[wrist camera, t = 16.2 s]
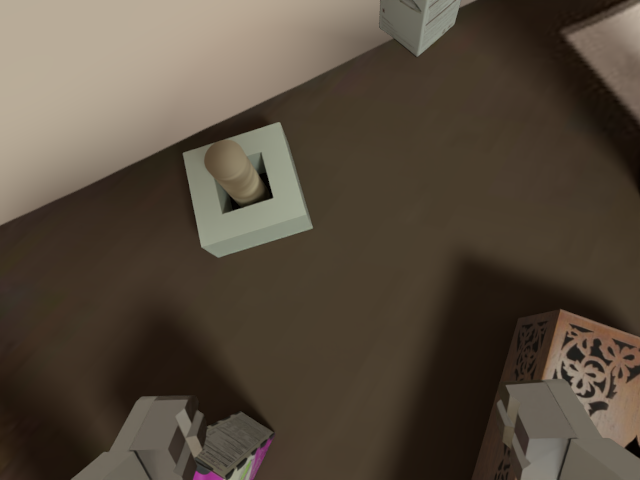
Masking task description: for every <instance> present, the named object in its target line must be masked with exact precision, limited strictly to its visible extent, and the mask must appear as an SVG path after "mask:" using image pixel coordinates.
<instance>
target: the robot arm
mask: <svg viewBox="0 0 640 480" xmlns="http://www.w3.org/2000/svg"><path fill="white" fill-rule="evenodd" d="M498 393H499V395H500V398H501V400H499V401H498V402H497V403H496V411H495V413H496V422H497V427H498V430H499V434H500V436H501V439H502V442H503V443H505V444H506V445H507V446H508V447H509V448H510V449H511V450H510V456H509V460H510V463H511V466H512V468H513V471H514V473H515V476H516V479H517V480H640V459H639V458H638V457H636V456H635V455H633V454H632V453H631V452H629V451H628V450H626V449H625V448H623V447H622V446H620V445H619V444H618V443H616V442H615V441H613V440H612V439H610V438H603V437H602V436H601V434H600V433H599V431H598V429H597V428H596V426H595V425H594V423H593V421H592V420H591V418H590V417H589V415H588V413H587V412H586V410H585V409H584V407H583V405H582V404H581V402H580V401H579V399H578V397H577V396H576V394H575V393H574V391H573V390H572V388H571V386H570V385H569V383H568V382H567V381H566V380H565V379H547V380H540V379H538V380H520V381H502V382H501V383H500V384H499V388H498ZM198 406H199V402H198V400H197V398H196V396H146V397H141V398H140V399H138V400H137V401H136V403H135V405H134V407H133V408H132V410H131V412H130V414H129V416H128V418H127V420H126V421H125V423H124V425H123V427H122V429H121V431H120V432H119V434H118V436H117V438H116V440H115V442H114V444H113V445H112V447H111V449H110V451H109V452H103V453H102V454H101V455H100V456H99V457H97V458H96V459H95V460H94V461H93V462H91V463H90V464H89V465H88V466H87V467H85V468H84V469H83V470H82V471H81V472H79V473H78V474H77V475H76V476H75V477H73V478H72V479H71V480H193V478H194V475H195V472H196V469H197V464H196V461H195V457H196V456H197V455H198V454H199V453H200V452H201V451H202V450H203V447H204V444H205V441H206V432H207V425H206V419H205V417H204V414H202V413H201V412H200V411H198V410H197V409H198Z"/></svg>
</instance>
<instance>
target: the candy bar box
mask: <svg viewBox="0 0 640 480" xmlns="http://www.w3.org/2000/svg"><path fill="white" fill-rule="evenodd" d="M274 435H275V432H273V431H271V430H270V429H268V428H267V427H265V426H263V425H261V424H259V423H258V422H256V421H255V420H253V419H252V418H250V417H249V416H247V415H246V414H244V413H243V412H241V411H239V412H237V413H235V414H233V415H230V416H228V417H226V418H224V419H222V420H220V421H218V422H216V423H214V424H211V425H209V426H207V432H206V441H205V444H204V447H203V450H202V451H201V452H200V453H199V454H198V455H197V456H196V457H195V461H196V464H197V469H196V472H195V475H194V478H193V480H253V479H254V477H255V475H256V473H257V471H258V469H259V467H260V464H261V462H262V460H263V458H264V456H265V454H266V452H267V450H268V448H269V446H270V444H271V441H272V439H273V437H274Z"/></svg>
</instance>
